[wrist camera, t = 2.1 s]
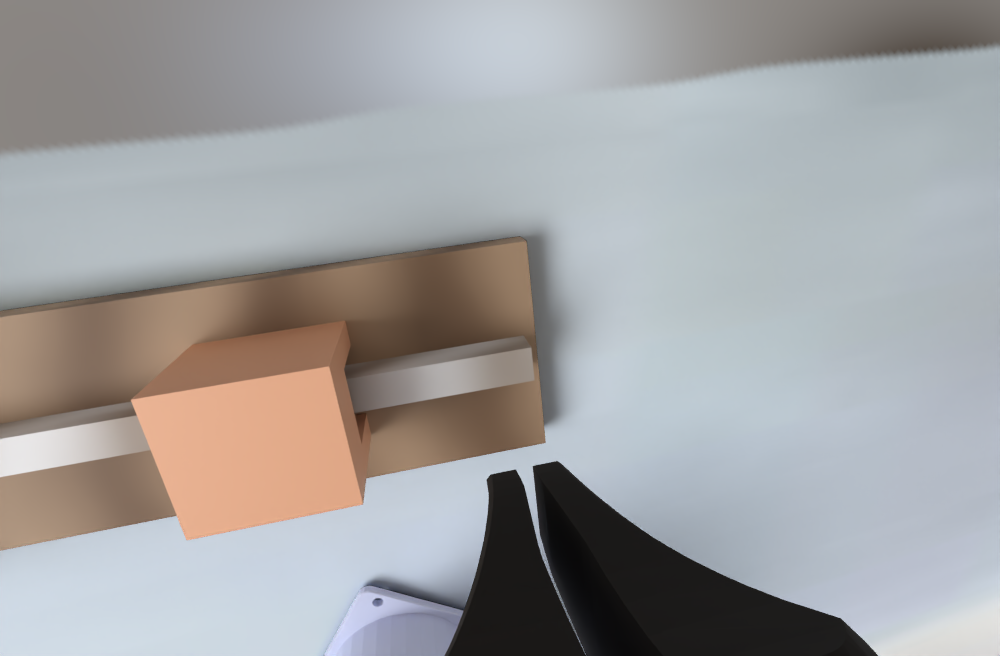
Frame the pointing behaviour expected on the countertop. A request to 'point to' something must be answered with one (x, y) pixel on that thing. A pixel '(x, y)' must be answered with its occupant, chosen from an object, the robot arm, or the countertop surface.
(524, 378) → the rail board
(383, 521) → the countertop surface
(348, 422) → the slider block
